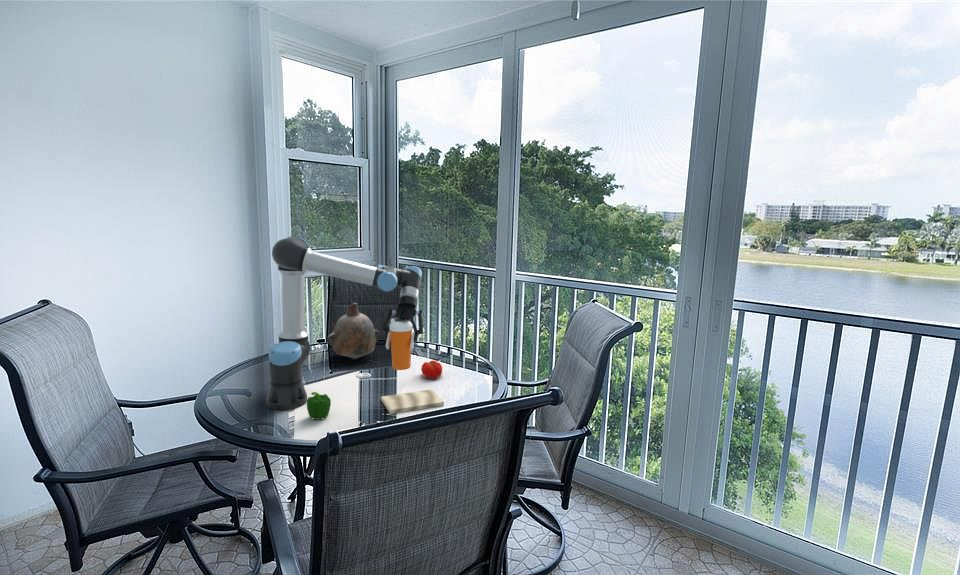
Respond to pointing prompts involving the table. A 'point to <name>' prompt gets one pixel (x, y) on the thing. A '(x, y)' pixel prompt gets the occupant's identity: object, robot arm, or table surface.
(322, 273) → the robot arm
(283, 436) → the table surface
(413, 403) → the oak board
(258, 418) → the table surface
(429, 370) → the tomato
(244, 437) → the table surface
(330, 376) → the table surface
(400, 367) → the shaker bottle
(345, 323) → the jug
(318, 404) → the bell pepper
